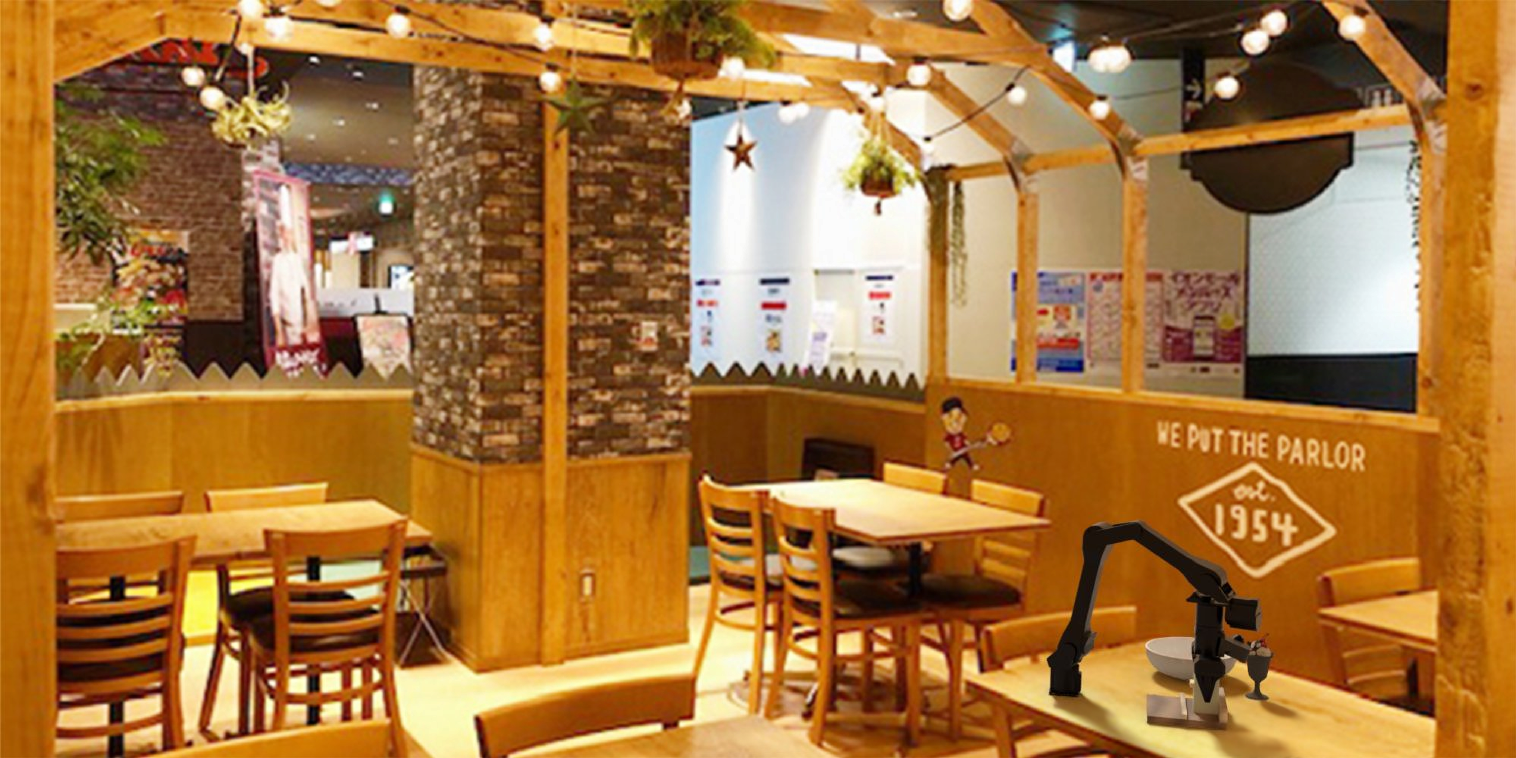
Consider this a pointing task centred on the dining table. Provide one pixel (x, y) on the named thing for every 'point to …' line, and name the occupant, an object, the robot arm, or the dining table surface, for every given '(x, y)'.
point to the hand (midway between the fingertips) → (1206, 696)
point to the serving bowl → (1177, 657)
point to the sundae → (1258, 666)
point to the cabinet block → (1199, 702)
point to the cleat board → (1185, 712)
